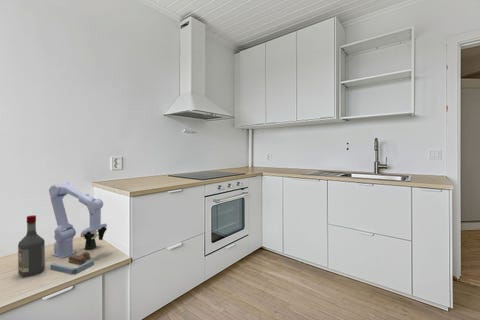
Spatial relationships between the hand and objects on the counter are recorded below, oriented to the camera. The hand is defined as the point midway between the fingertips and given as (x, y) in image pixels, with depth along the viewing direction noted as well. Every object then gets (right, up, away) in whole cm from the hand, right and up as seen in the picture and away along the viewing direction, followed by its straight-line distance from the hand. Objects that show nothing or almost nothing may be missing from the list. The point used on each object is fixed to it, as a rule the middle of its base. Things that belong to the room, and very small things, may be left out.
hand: (95, 242), depth 139 cm
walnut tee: (-5, -9, -5) cm, 12 cm away
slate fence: (-5, -10, -12) cm, 16 cm away
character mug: (-11, -9, +13) cm, 19 cm away
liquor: (-22, -10, -18) cm, 30 cm away
